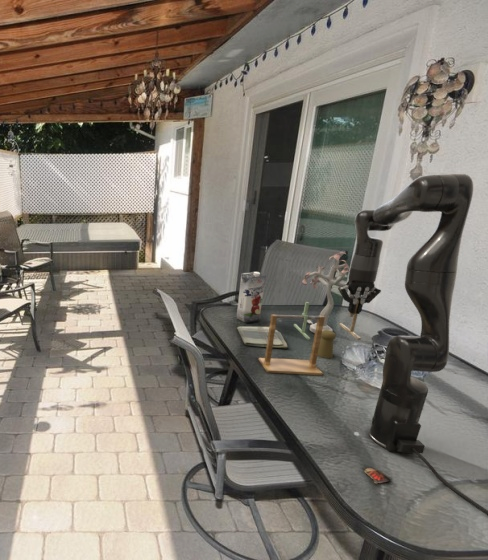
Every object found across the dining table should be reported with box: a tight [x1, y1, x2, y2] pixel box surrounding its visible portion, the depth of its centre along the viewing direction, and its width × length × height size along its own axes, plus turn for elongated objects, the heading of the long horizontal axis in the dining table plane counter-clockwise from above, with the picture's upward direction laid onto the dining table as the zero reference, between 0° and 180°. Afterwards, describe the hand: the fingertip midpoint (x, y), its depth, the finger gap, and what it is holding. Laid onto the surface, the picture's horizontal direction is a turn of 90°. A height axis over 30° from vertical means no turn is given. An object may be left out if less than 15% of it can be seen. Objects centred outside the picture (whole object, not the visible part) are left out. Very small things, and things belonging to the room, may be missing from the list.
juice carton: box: [236, 271, 267, 324], centre depth 184 cm, size 9×10×27 cm
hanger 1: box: [293, 301, 311, 341], centre depth 135 cm, size 12×1×13 cm, turn 172°
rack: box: [258, 313, 325, 376], centre depth 139 cm, size 10×20×23 cm, turn 82°
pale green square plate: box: [236, 326, 289, 350], centre depth 166 cm, size 19×18×3 cm
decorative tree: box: [301, 251, 350, 334], centre depth 168 cm, size 28×24×40 cm
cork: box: [317, 330, 337, 359], centre depth 149 cm, size 6×6×11 cm
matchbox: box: [363, 467, 392, 485], centre depth 91 cm, size 5×5×1 cm
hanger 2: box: [338, 300, 362, 340], centre depth 129 cm, size 12×1×13 cm, turn 172°
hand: (354, 312), depth 128 cm, fingers closed on hanger 2, 1 cm apart
